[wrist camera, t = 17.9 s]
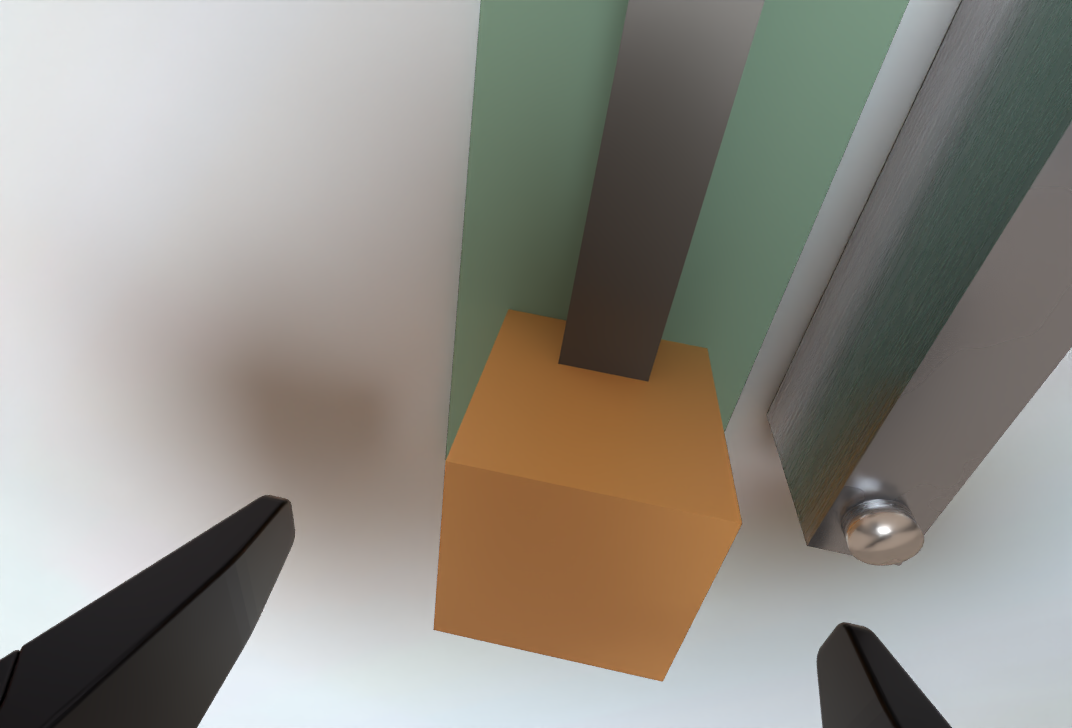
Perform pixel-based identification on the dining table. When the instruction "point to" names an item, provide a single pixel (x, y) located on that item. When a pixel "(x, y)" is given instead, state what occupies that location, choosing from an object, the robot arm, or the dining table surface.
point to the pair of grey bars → (940, 291)
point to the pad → (572, 153)
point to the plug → (608, 391)
